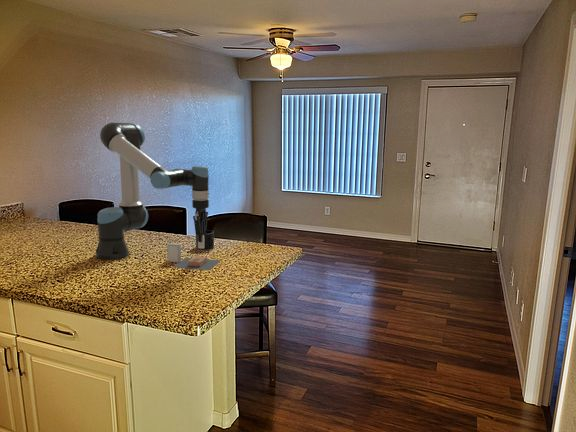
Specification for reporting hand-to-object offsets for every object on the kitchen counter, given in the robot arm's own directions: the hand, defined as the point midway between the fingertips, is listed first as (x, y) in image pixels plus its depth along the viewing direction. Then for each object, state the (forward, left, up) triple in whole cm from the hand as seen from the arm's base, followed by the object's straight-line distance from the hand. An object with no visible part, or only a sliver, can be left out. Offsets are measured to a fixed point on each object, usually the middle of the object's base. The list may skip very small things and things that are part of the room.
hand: (201, 248), depth 214 cm
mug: (-6, +23, -7) cm, 25 cm away
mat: (0, -5, -7) cm, 9 cm away
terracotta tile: (0, 0, -5) cm, 5 cm away
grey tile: (-12, -4, -7) cm, 14 cm away
